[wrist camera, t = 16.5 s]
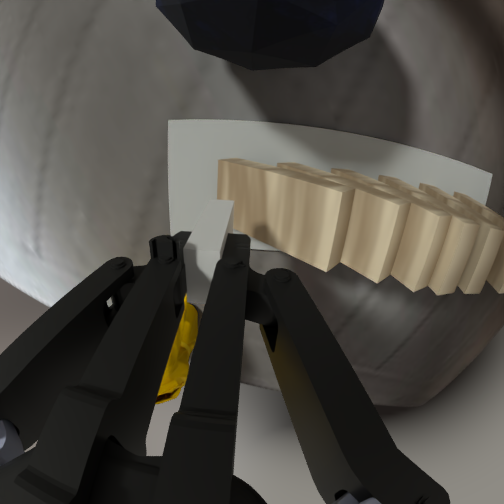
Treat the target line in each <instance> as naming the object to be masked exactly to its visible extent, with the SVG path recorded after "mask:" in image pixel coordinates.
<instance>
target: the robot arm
mask: <svg viewBox="0 0 504 504" xmlns="http://www.w3.org/2000/svg"><path fill="white" fill-rule="evenodd" d="M233 221H234V201H233V200H215V199H210V200H209V202H208V204H207V206H206V207H205V209H204V211H203V213H202V215H201V216H200V218H199V220H198V222H197V224H196V226H195V227H194V229H193V231H192V232H191V231H180V232H178V233H176V234H175V235H174V236H170V235H162V236H157V237H155V238H152V239H151V240H150V241H149V245H150V253H151V259H150V261H149V262H148V264H147V265H143V266H134V267H133V262H132V260H131V259H129V258H127V257H116V258H113V259H111V260H109V261H107V262H106V263H105V264H103V265H102V266H101V267H99V268H98V269H97V270H96V271H94V272H93V273H92V274H91V275H89V276H88V277H87V278H85V279H84V280H83V281H82V282H81V283H79V284H78V285H77V286H76V287H74V288H73V289H72V290H71V291H70V292H68V293H67V294H66V295H65V296H64V297H62V298H61V299H60V300H59V301H58V302H57V303H55V304H54V305H53V306H52V307H51V308H50V309H48V311H46V312H45V313H44V314H43V315H42V316H41V317H39V319H37V320H36V321H35V322H34V323H33V324H32V325H31V326H30V327H29V328H27V329H26V330H25V331H24V332H23V333H22V334H21V335H20V336H19V337H18V338H17V339H16V340H15V341H14V342H13V343H12V344H11V345H10V346H9V347H8V348H7V349H6V350H5V351H3V352H2V354H1V355H0V504H267V503H266V502H265V500H264V499H263V498H262V497H261V496H260V495H259V494H258V493H257V492H256V491H255V490H254V489H253V488H252V487H251V486H250V485H249V484H247V483H246V482H244V481H243V480H242V479H240V478H238V477H236V476H235V475H233V469H234V456H235V442H236V428H237V416H238V403H239V390H240V377H241V364H242V351H243V339H244V328H245V319H246V320H249V321H252V322H256V323H259V324H260V331H261V334H262V337H263V339H264V342H265V345H266V348H267V351H268V354H269V357H270V360H271V363H272V366H273V369H274V372H275V375H276V378H277V380H278V383H279V386H280V389H281V392H282V395H283V398H284V400H285V403H286V406H287V409H288V412H289V415H290V417H291V420H292V423H293V426H294V429H295V432H296V434H297V437H298V440H299V443H300V445H301V448H302V451H303V454H304V456H305V459H306V462H307V465H308V468H309V470H310V473H311V476H312V478H313V481H314V483H315V485H316V487H317V490H318V492H319V493H320V495H321V496H322V498H323V500H324V501H325V503H326V504H450V499H449V495H448V493H447V492H446V490H445V489H444V488H443V487H442V486H441V485H439V484H438V483H437V482H435V481H434V480H433V479H432V478H431V477H430V476H429V475H427V474H426V473H425V472H424V471H422V470H421V469H420V468H419V467H418V466H417V465H416V464H414V463H413V462H412V461H411V460H410V459H409V458H408V457H406V456H405V455H404V454H403V453H402V452H401V451H400V450H399V449H397V447H396V445H395V443H394V441H393V439H392V438H391V436H390V434H389V432H388V430H387V428H386V427H385V425H384V423H383V421H382V419H381V418H380V416H379V414H378V412H377V410H376V408H375V407H374V405H373V403H372V401H371V399H370V398H369V396H368V394H367V392H366V391H365V389H364V387H363V385H362V384H361V382H360V380H359V378H358V377H357V375H356V373H355V371H354V370H353V368H352V366H351V364H350V363H349V361H348V359H347V358H346V356H345V354H344V352H343V351H342V349H341V347H340V346H339V344H338V342H337V340H336V339H335V337H334V335H333V334H332V332H331V330H330V329H329V327H328V325H327V324H326V322H325V320H324V319H323V317H322V315H321V314H320V312H319V310H318V309H317V307H316V305H315V304H314V302H313V300H312V299H311V297H310V295H309V294H308V292H307V290H306V289H305V287H304V286H303V284H302V282H301V281H300V279H299V277H298V276H297V275H296V274H295V273H294V272H292V271H290V270H288V269H283V268H276V269H271V270H269V271H267V272H266V274H265V275H262V274H259V273H257V272H255V271H253V270H252V269H251V268H250V266H249V258H250V244H251V239H250V237H249V236H248V235H247V234H233ZM186 295H187V302H189V303H199V304H205V307H204V311H203V315H202V319H201V323H200V327H199V331H198V335H197V338H196V342H195V346H194V350H193V354H192V359H191V363H190V367H189V371H188V375H187V379H186V383H185V388H184V392H183V396H182V401H181V405H180V408H179V411H178V412H176V413H174V414H173V416H172V419H171V422H170V426H169V430H168V434H167V439H166V443H165V447H164V452H163V456H146V444H145V443H146V435H147V431H148V428H149V424H150V420H151V416H152V413H153V410H154V406H155V403H156V399H157V396H158V392H159V389H160V385H161V382H162V379H163V375H164V372H165V369H166V365H167V362H168V359H169V356H170V353H171V349H172V346H173V343H174V340H175V337H176V334H177V331H178V328H179V325H180V322H181V319H182V316H183V313H184V310H185V304H184V298H185V296H186ZM110 297H111V300H112V303H113V304H112V305H111V306H110V307H108V305H107V302H106V301H107V300H108V299H109V298H110ZM37 440H38V442H37V444H36V447H34V448H32V449H31V450H29V451H27V452H24V451H25V450H26V449H28V448H29V447H30V446H32V445H33V444H34V443H35V442H36V441H37Z"/></svg>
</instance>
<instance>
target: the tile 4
mask: <svg viewBox="0 0 504 504" xmlns="http://www.w3.org/2000/svg"><path fill="white" fill-rule="evenodd" d="M378 181H380V182H382V183H385V184H387V185H389V186H392V187H394V188H396V189H399V190H401V191H403V192H405V193H408V194H410V195H412V196H414V197H416V198H418V199H421V200H423V201H425V202H427V203H429V204H431V205H433V206H435V207H437V208H439V209H441V210H443V211H445V212H447V213H449V214H451V215H453V216H452V219H451V222H450V226H449V229H448V232H447V235H446V239H445V242H444V245H443V247H442V250H441V253H440V256H439V259H438V262H437V264H436V267H435V269H434V272H433V275H432V277H431V280H430V282H429V284H428V286H429V287H430V288H431V289H432V290H433V291H434V292H435V294H436V295H443V294H449V293H454V291H455V289H456V287H457V285H458V282H459V280H460V278H461V275H462V273H463V270H464V268H465V266H466V263H467V260H468V258H469V255H470V253H471V250H472V247H473V244H474V241H475V239H476V236H477V233H478V229H479V226H480V225H479V224H478V223H476V222H475V221H473V220H472V219H470V218H468V217H467V216H465V215H464V214H462V213H460V212H459V211H457V210H455V209H454V208H452V207H450V206H449V205H447V204H445V203H443V202H442V201H440V200H438V199H436V198H434V197H433V196H431V195H429V194H427V193H425V192H423V191H421V190H420V189H418V188H416V187H414V186H412V185H410V184H408V183H406V182H404V181H402V180H400V179H398V178H396V177H390V176H384V175H379V177H378Z"/></svg>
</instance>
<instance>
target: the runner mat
mask: <svg viewBox="0 0 504 504" xmlns="http://www.w3.org/2000/svg"><path fill="white" fill-rule="evenodd" d="M228 158H240V159H245V160H250V161H254V162H259V163H263V164H268V165H272V166H276V167H277V163H286V162H296V163H299V164H303V165H306V166H309V167H313V168H316V169H319V170H323V171H326V172H329V173H331V168H338V169H349V170H352V171H355V172H357V173H360V174H362V175H365V176H368V177H370V178H373V179H375V180H377V181H378V177H379V175H384V176H390V177H396V178H398V179H400V180H402V181H404V182H406V183H408V184H410V185H412V186H414V187H416V188H418V189H419V184H420V183H424V184H428V185H432V186H435V187H437V188H439V189H441V190H442V191H444V192H446V193H448V194H449V195H451V196H453V194H454V191H455V192H458V193H462V194H466V195H468V196H469V197H471V198H473V199H474V200H476V201H478V202H479V203H481V204H483V205H484V206H485V204H486V201H487V197H488V193H489V188H490V184H491V179H492V175H493V174H491V173H489V172H486V171H484V170H481V169H478V168H476V167H473V166H471V165H468V164H465V163H462V162H459V161H457V160H454V159H451V158H448V157H445V156H441V155H438V154H435V153H432V152H428V151H425V150H421V149H418V148H414V147H411V146H407V145H403V144H399V143H395V142H391V141H387V140H382V139H378V138H373V137H369V136H364V135H359V134H353V133H348V132H342V131H336V130H330V129H324V128H317V127H309V126H301V125H293V124H283V123H272V122H260V121H243V120H211V119H191V120H168V187H169V212H170V230H171V236H174V235H175V234H176V233H178V232H180V231H191V232H192V231H193V229H194V227H195V226H196V224H197V222H198V220H199V218H200V216H201V215H202V213H203V211H204V209H205V207H206V206H207V204H208V202H209V200H210V199H215V200H217V179H218V160H220V159H228ZM233 234H244V233H242V232H240V231H238V230H236V229H233ZM249 237H250V239H251V244H250V249H259V250H273V251H281V250H278V249H276V248H274V247H272V246H270V245H268V244H266V243H263V242H261V241H259V240H257V239H255V238H253V237H251V236H249Z"/></svg>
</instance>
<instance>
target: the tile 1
mask: <svg viewBox="0 0 504 504" xmlns="http://www.w3.org/2000/svg"><path fill="white" fill-rule="evenodd" d="M355 189H356V188H353V187H349V186H346V185H343V184H339V183H336V182H333V181H329V180H326V179H322V178H319V177H315V176H311V175H308V174H304V173H300V172H296V171H292V170H288V169H284V168H280V167H276V166H272V165H268V164H263V163H259V162H254V161H250V160H245V159H240V158H228V159H220V160H218V179H217V200H233V201H234V221H233V229H236V230H238V231H240V232H242V233H244V234H247V235H248V236H251V237H253V238H255V239H257V240H259V241H261V242H263V243H266V244H268V245H270V246H272V247H274V248H276V249H278V250H281V251H283V252H285V253H287V254H289V255H291V256H293V257H295V258H297V259H300V260H302V261H304V262H306V263H308V264H310V265H312V266H314V267H316V268H318V269H321V270H323V271H325V272H327V271H329V270H330V269H332V268H333V267H334V266H336V265H337V264H338V263H340V261H341V256H342V252H343V248H344V244H345V239H346V235H347V230H348V225H349V220H350V215H351V210H352V205H353V200H354V195H355Z"/></svg>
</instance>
